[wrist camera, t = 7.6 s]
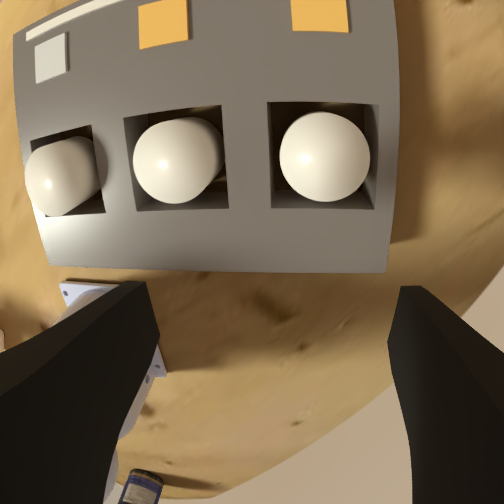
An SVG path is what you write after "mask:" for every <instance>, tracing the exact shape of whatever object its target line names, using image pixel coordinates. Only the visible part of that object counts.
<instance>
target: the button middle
mask: <svg viewBox="0 0 504 504" xmlns="http://www.w3.org/2000/svg"><path fill="white" fill-rule="evenodd" d="M224 161H225V148H224V140H223V138H222V136H221V134H220V132H219V131H218V130H217V129H216V128H215V127H214V126H213V125H212V124H211V123H210V122H208V121H206V120H204V119H201V118H197V117H183V118H179V119H174V120H169V121H165V122H161V123H158V124H156V125H154V126H152V127H150V128H149V129H147V130H146V131H145V132H144V133H143V134H142V136H141V137H140V138H139V140H138V142H137V144H136V146H135V150H134V154H133V167H134V172H135V175H136V178H137V180H138V182H139V183H140V185H141V186H142V188H143V189H144V190H145V191H146V192H147V193H148V194H149V195H150V196H152V197H153V198H155V199H157V200H159V201H162V202H165V203H172V204H177V203H183V202H187V201H189V200H191V199H193V198H195V197H196V196H198V195H199V194H200V193H201V192H202V191H203V190H204V189H205V188H206V187H207V186H208V184H209V183H210V182H211V181H212V180H213V179H214V178H215V177H216V176H217V175H218V173H219V172H220V171H221V169H222V167H223V164H224Z"/></svg>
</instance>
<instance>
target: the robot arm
mask: <svg viewBox="0 0 504 504" xmlns="http://www.w3.org/2000/svg"><path fill="white" fill-rule="evenodd" d="M59 286H60V290H61V292H62V295H63V298H64V300H65V303H66V305H67V309H66V310H65V311H64V312H63V313H62V314H61V315H60V317H59V318H58V319H57V320H56V321H55V322H54V324H53V325H52V326H51V327H50V328H48V329H47V330H45V331H44V332H42V333H40V334H38V335H36V336H34V337H33V338H31V339H29V340H27V341H25V342H23V343H21V344H19V345H17V346H15V347H13V348H10V349H8V350H6V351H3V352H1V353H0V504H103V503H104V502H105V501H106V499H107V498H108V496H109V495H110V493H111V491H112V490H113V487H114V485H115V483H116V480H117V476H118V470H119V463H118V455H117V451H116V449H115V448H116V444H117V441H118V440H119V439H121V438H122V437H124V436H125V435H126V434H128V433H129V432H130V430H131V429H132V428H133V426H134V425H135V423H136V420H137V418H138V416H139V413H140V411H141V409H142V407H143V404H144V402H145V400H146V397H147V395H148V393H149V391H150V388H151V386H152V384H153V381H154V379H155V377H165V376H166V374H167V371H166V368H165V365H164V362H163V359H162V356H161V353H160V350H159V347H158V340H159V337H160V333H159V330H158V326H157V323H156V319H155V316H154V312H153V309H152V305H151V301H150V297H149V293H148V290H147V286H146V282H139V281H127V282H125V283H123V284H121V285H116V284H101V283H87V282H73V281H62V282H61V283H60V285H59ZM387 343H388V350H389V358H390V364H391V371H392V375H393V379H394V383H395V386H396V390H397V394H398V398H399V401H400V406H401V409H402V413H403V418H404V422H405V426H406V430H407V434H408V440H409V446H410V455H411V468H412V495H413V496H412V501H413V502H412V504H504V353H503V352H502V351H500V350H499V349H498V348H497V347H495V346H494V345H493V344H492V343H490V342H489V341H488V340H487V339H485V338H484V337H483V336H481V335H480V334H479V333H478V332H477V331H475V330H474V329H473V328H472V327H471V326H469V325H468V324H467V323H466V322H465V321H464V320H462V319H461V318H460V317H459V316H458V315H457V314H455V313H454V312H453V311H452V310H451V309H449V308H448V307H447V306H446V305H445V304H444V303H442V302H441V301H440V300H439V299H438V298H436V297H435V296H434V295H433V294H431V293H430V292H429V291H427V290H426V289H425V288H423V287H422V286H401V288H400V293H399V297H398V302H397V306H396V310H395V314H394V318H393V322H392V326H391V330H390V334H389V338H388V341H387Z"/></svg>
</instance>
